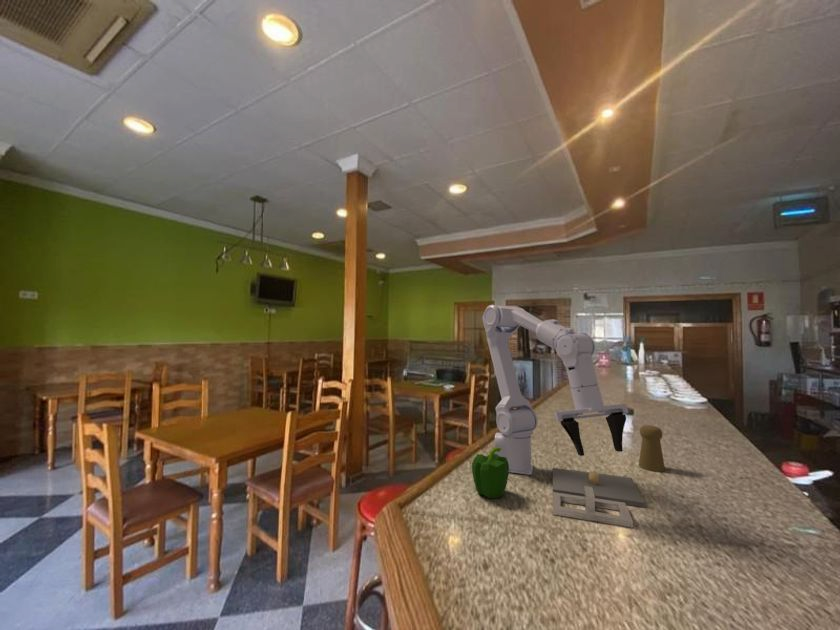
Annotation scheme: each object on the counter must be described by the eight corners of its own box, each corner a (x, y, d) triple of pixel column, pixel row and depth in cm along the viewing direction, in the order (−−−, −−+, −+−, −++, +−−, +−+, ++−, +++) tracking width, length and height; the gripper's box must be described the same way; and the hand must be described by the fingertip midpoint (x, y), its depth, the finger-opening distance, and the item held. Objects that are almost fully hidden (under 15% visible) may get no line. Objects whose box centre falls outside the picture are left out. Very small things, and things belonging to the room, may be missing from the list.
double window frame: (552, 514, 73) (552, 493, 73) (552, 497, 81) (552, 479, 81) (632, 527, 68) (632, 505, 69) (625, 508, 76) (624, 488, 76)
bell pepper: (478, 503, 78) (478, 455, 78) (467, 487, 86) (467, 443, 86) (516, 501, 79) (516, 453, 79) (501, 485, 87) (501, 442, 87)
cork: (669, 472, 96) (668, 429, 96) (643, 470, 97) (642, 428, 98) (659, 464, 102) (658, 424, 102) (635, 462, 103) (634, 422, 103)
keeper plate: (552, 493, 83) (552, 478, 83) (552, 471, 96) (552, 458, 96) (645, 507, 76) (644, 491, 77) (631, 481, 90) (631, 468, 90)
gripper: (555, 390, 77) (569, 459, 73) (626, 381, 76) (645, 451, 72) (547, 392, 84) (560, 455, 80) (613, 384, 83) (629, 448, 79)
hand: (600, 453), depth 77 cm, fingers open, 7 cm apart
